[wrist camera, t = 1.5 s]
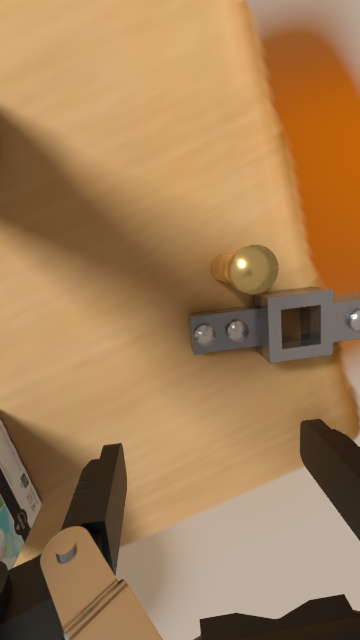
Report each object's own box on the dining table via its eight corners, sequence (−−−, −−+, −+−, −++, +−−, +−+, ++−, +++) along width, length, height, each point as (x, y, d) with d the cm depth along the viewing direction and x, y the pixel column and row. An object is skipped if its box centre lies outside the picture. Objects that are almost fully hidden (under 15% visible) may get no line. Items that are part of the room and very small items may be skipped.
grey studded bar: (187, 302, 31) (192, 308, 27) (374, 279, 32) (410, 281, 28) (193, 360, 33) (199, 375, 28) (372, 335, 34) (405, 346, 29)
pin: (205, 253, 30) (229, 247, 20) (238, 249, 30) (277, 242, 21) (208, 286, 31) (232, 296, 21) (240, 282, 31) (278, 291, 21)
